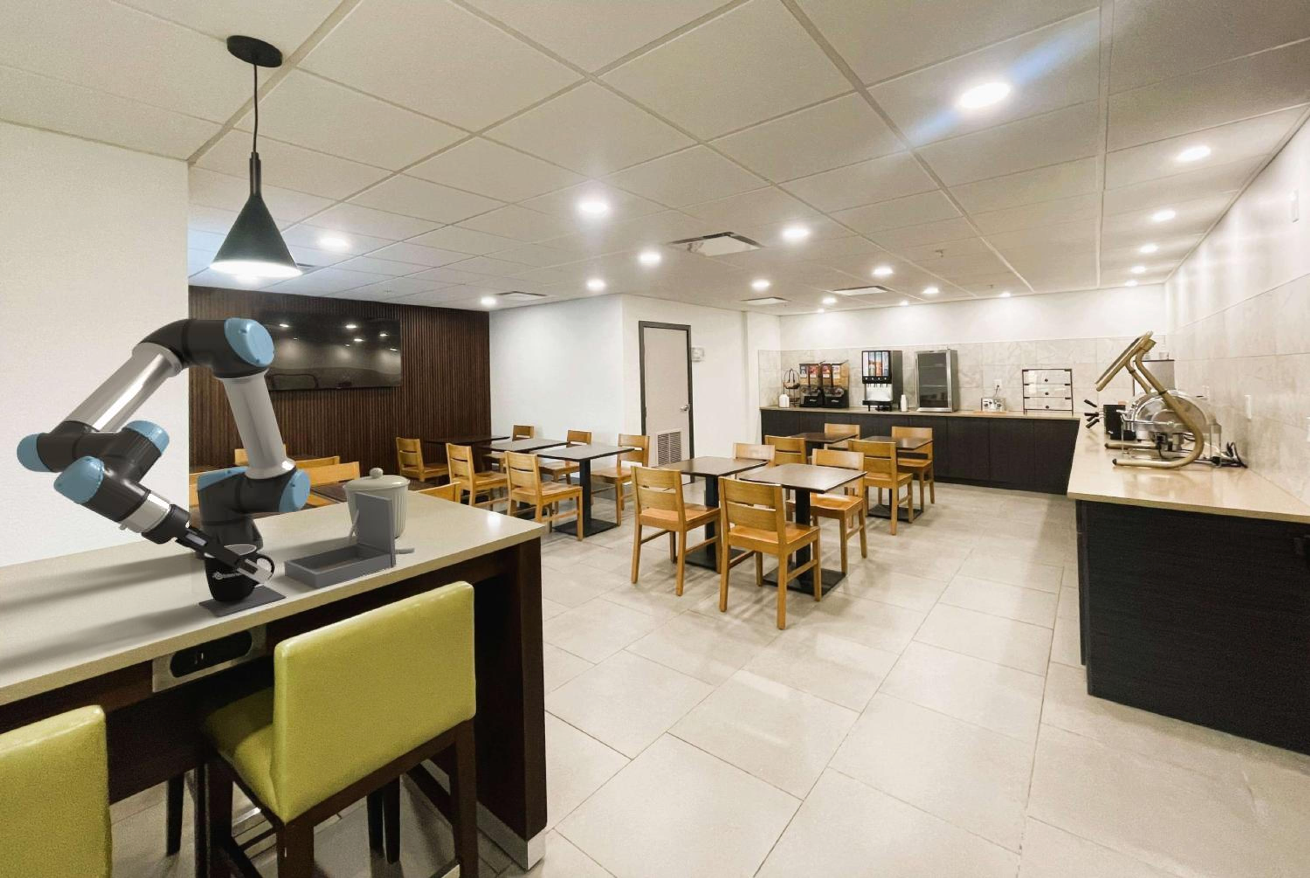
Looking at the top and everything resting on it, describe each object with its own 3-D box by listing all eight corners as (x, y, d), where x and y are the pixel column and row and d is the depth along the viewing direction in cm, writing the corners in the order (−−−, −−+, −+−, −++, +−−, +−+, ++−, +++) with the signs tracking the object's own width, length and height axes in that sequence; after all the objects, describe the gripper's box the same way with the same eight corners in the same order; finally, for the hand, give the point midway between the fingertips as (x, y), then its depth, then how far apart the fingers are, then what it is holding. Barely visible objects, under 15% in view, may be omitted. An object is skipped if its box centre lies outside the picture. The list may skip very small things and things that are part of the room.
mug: (203, 608, 114) (200, 560, 112) (209, 593, 121) (207, 547, 120) (274, 597, 120) (272, 551, 119) (276, 583, 127) (274, 540, 126)
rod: (366, 557, 151) (366, 553, 151) (367, 555, 152) (367, 551, 152) (413, 553, 154) (413, 549, 154) (414, 552, 155) (414, 548, 155)
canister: (361, 530, 177) (356, 464, 175) (420, 527, 179) (417, 462, 176) (335, 547, 159) (329, 474, 157) (401, 544, 161) (397, 472, 159)
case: (285, 575, 137) (279, 505, 135) (362, 554, 152) (358, 492, 150) (316, 589, 127) (310, 514, 125) (396, 566, 142) (392, 499, 140)
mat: (198, 604, 119) (198, 602, 119) (263, 586, 129) (263, 585, 129) (219, 617, 112) (219, 615, 112) (286, 598, 122) (285, 596, 122)
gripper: (123, 526, 113) (226, 579, 127) (156, 544, 100) (265, 600, 115) (155, 496, 116) (251, 550, 131) (190, 509, 104) (292, 568, 118)
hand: (258, 574), depth 123 cm, fingers closed on mug, 9 cm apart
